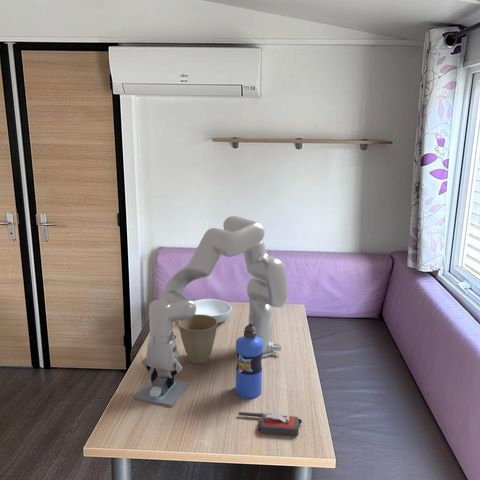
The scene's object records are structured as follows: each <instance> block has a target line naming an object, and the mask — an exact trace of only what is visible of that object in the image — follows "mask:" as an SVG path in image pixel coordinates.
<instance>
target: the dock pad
mask: <svg viewBox="0 0 480 480" xmlns="http://www.w3.org/2000/svg"><path fill="white" fill-rule="evenodd" d="M189 386H190V382H186V381H181V380H176V379H174V384H173V385H172V386H171V387H170V389H169V390H168V391H167V392H166V393H165V395H164V396H161V395H159V396H158V397H154V396H150V390H151V389H152V381H151V379H150V380H149V381H148V382H147V383H146V384H145V385H144V386H143V387H142V388H141V389H140V390H139V391H138V392H137V393H136V394H135V396H134V397H133V399H134V400H137V401H142V402H145V403H146V402H147V403H151V404H155V405H159V406H166V407H169V408H173V407H174V406H175V405H176V403H177V402H178V401H179V399H180V398H181V397H182V395H183V394H184V393H185V392H186V390H187V389H188V387H189Z"/></svg>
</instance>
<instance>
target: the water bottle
mask: <svg viewBox="0 0 480 480" xmlns="http://www.w3.org/2000/svg"><path fill="white" fill-rule="evenodd" d="M243 329H244V330H243V335H242V336H239V337H237V338H236V340H235V351H236V367H235V394H236V395H237V396H238V397H239V398H241V399H244V400H245V399H246V400H251V399H256V398H259V396H261V395H262V388H263V387H262V384H263V383H262V382H263V381H262V380H263V366H262V358H263V357H262V353H263V345H264V342H263V340H262V339H261V338H259V337H256V328H255V327H254V326H253V325H252V324H249V323H248V324H247V325H245V327H244V328H243Z"/></svg>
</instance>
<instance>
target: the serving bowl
mask: <svg viewBox="0 0 480 480" xmlns="http://www.w3.org/2000/svg"><path fill="white" fill-rule="evenodd" d="M192 301H193V302H194V303H195V305H196V312H195V314H194V315H197V314H202V315H209V316H212V317H214V318H215V319H217V324H220V323H223V322H225V321H226V320H227V319H229V317H230V316H231V313H232V309H233V307H232V305H231V304H230V303H228V302H227V301H225V300H221V299H217V298H202V299H197V300H192Z"/></svg>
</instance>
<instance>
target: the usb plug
mask: <svg viewBox="0 0 480 480" xmlns="http://www.w3.org/2000/svg"><path fill="white" fill-rule="evenodd" d="M168 377H169V376H168V373H167V372H161V373H159V374H158V377H157V378H156V379H155V380H154V381H153V382H152V389H151V390H150V396H154V397H158V396H159V395H161V396H164V395H165V393H166V392H167V391H168V390H169V388H167V378H168Z"/></svg>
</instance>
